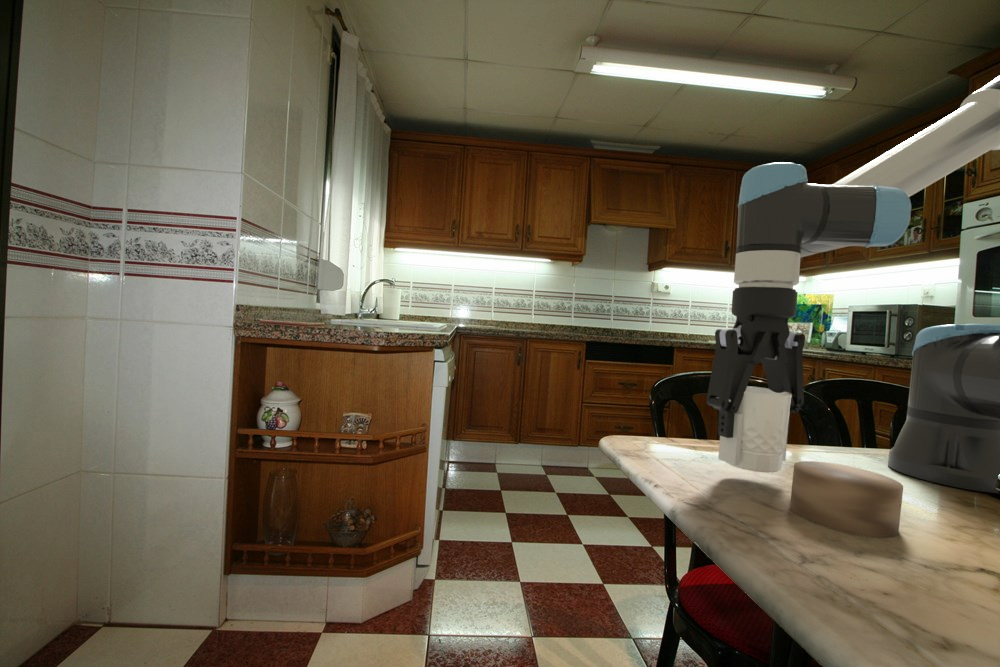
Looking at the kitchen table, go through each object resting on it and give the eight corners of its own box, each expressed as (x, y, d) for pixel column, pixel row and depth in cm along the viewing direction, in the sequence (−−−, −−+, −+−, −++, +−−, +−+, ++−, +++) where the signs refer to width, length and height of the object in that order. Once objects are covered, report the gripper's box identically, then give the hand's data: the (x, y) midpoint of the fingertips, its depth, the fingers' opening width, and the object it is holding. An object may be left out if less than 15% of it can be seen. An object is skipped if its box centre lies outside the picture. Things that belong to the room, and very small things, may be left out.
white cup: (770, 459, 70) (775, 388, 70) (797, 477, 62) (803, 396, 62) (711, 454, 71) (716, 384, 71) (731, 471, 63) (737, 392, 63)
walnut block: (851, 504, 61) (855, 464, 61) (924, 541, 51) (929, 493, 51) (771, 499, 61) (775, 458, 61) (829, 536, 51) (834, 487, 51)
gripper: (793, 293, 73) (781, 448, 74) (682, 282, 66) (671, 456, 66) (845, 291, 66) (832, 463, 67) (729, 279, 59) (715, 474, 59)
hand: (752, 459), depth 67 cm, fingers closed on white cup, 8 cm apart
